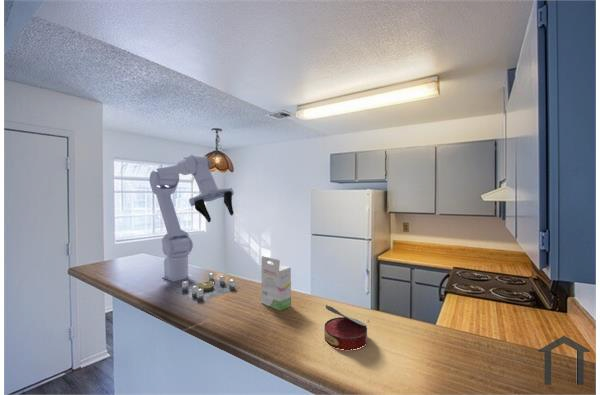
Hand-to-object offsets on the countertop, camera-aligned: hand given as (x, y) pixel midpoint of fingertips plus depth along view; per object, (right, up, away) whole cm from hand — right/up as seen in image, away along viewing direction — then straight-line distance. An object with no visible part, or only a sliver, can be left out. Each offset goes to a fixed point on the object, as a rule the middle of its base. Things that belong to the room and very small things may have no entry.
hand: (221, 217), depth 93 cm
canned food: (+36, -27, -26) cm, 52 cm away
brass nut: (-7, -25, +5) cm, 26 cm away
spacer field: (-6, -26, +5) cm, 27 cm away
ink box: (+19, -26, -7) cm, 33 cm away
